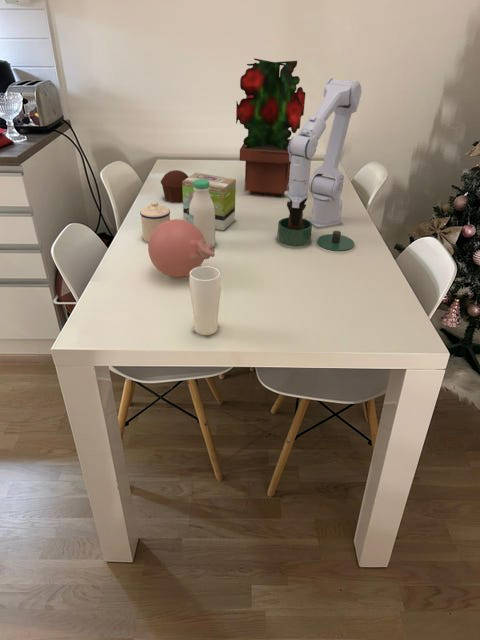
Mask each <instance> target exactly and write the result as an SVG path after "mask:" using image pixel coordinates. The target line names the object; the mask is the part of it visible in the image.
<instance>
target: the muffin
mask: <svg viewBox="0 0 480 640" xmlns="http://www.w3.org/2000/svg"><path fill="white" fill-rule="evenodd" d="M188 177H189V175H188V174H187V173H186V172H184V171H182V170H174V169H173V170H170V171H168V172H166V173H165V174H164V176H163V177H162V178H161V180H160V184H161V187H162V191H163V195H164V199H165V200H166V201H165V202H169V203H172V204H174V203H176V204H180V203H183V188H182V181H184V180H185V179H187V178H188Z"/></svg>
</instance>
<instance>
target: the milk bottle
mask: <svg viewBox="0 0 480 640" xmlns="http://www.w3.org/2000/svg"><path fill="white" fill-rule="evenodd" d="M193 187H194V188H193V189H194V195H193V198H192V200H191V203H190V207H189V222H190V223H192V224H193V225H195V226H196V227H197V228H198V229H199V230H200V231H201V233H202V235H203V237H204V239H205V242H206V244H212V245H213V247H212V248H214V247H215V245H216V229H215V209H214V204H213V202H212V200H211V197H210V195H209V181H208V180H205V179H197V180H194V181H193Z"/></svg>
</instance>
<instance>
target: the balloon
mask: <svg viewBox="0 0 480 640" xmlns="http://www.w3.org/2000/svg"><path fill="white" fill-rule="evenodd" d="M147 249H148V250H147V251H148V256H149V259H150V261H151V263H152V265H153V266H154V267H155V268H156V270H157V271H159V272H160V273H162V274H164V275H165V276H168V277H172V278H185V277H188V276H190V271H191V270H192V269H194V268H196V267H200V266H203V264H204V261H205V260H208V259H210V258H211V257H212V258H213V257H215V248H214V247H213V245H212V244H206V242H205V239H204V237H203V235H202V233H201V231H200V230H199V229H198V228H197V227H196V226H195V225H193V224H192V223H190V222H188V221H185V220H184V219H180V218H176V219H175V218H174V219H170V220H168V221H165V222H163V223H162V224H160V225H159V226H158V227H157V228H156V229H155V230H154V231H153V233H152V234H151V237H150V239H149V242H148V246H147Z"/></svg>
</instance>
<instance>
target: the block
mask: <svg viewBox="0 0 480 640" xmlns="http://www.w3.org/2000/svg"><path fill="white" fill-rule="evenodd" d="M288 217H289V223H288V228H291V229H301V227H302V220H303V219H304V211H303V212H302V214H301V218H300V222H299V225H298V226H296V225H291V219H290V213H289V214H288Z"/></svg>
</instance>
